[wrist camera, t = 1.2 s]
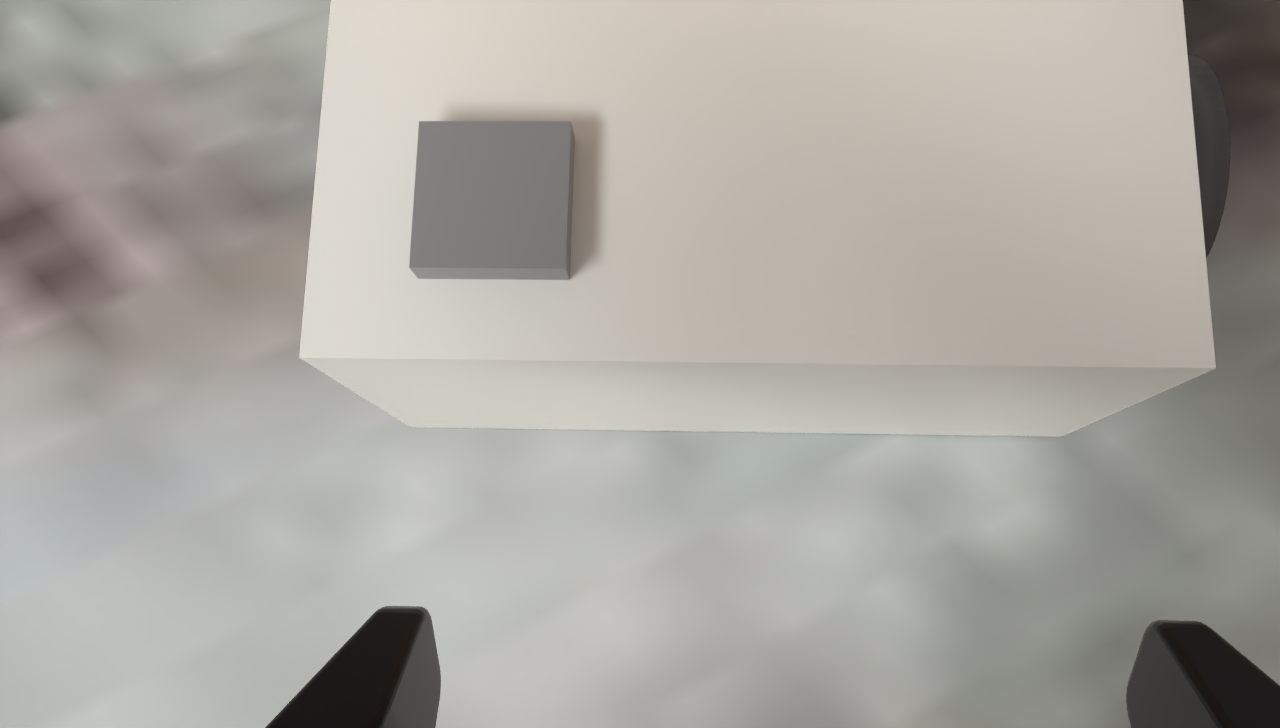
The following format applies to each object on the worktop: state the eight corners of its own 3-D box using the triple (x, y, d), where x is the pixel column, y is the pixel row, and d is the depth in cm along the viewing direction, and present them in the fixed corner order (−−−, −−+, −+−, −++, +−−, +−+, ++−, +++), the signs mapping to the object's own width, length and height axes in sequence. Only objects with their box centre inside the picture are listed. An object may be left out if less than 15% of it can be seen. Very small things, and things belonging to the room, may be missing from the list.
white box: (1119, 437, 23) (1320, 360, 16) (410, 427, 24) (285, 349, 17) (1091, 48, 25) (1259, -183, 18) (435, 49, 26) (333, -173, 18)
